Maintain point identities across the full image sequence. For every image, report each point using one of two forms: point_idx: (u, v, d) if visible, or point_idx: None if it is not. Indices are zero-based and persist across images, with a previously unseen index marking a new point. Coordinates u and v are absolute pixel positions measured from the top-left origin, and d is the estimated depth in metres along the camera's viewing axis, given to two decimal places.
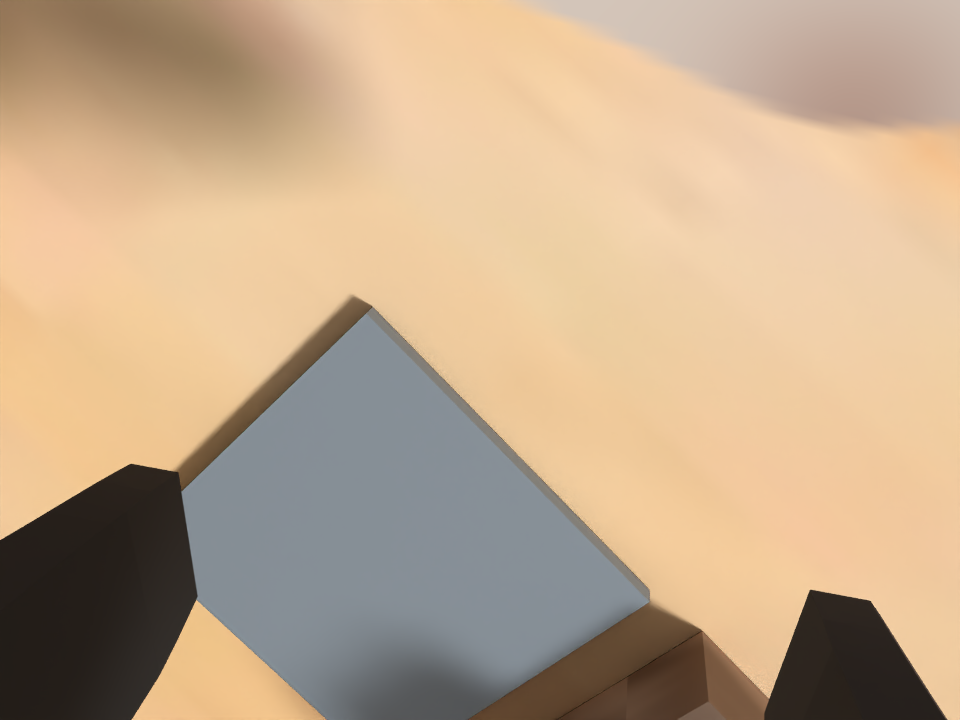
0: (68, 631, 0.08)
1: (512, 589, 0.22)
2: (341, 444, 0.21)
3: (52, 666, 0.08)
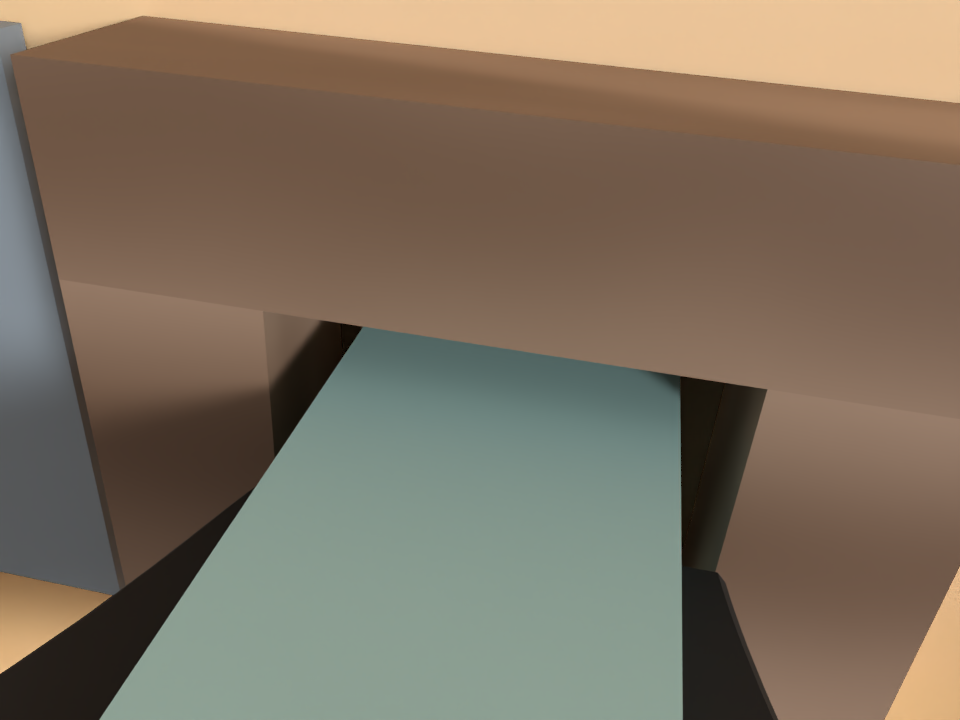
0: None
1: None
2: None
3: None
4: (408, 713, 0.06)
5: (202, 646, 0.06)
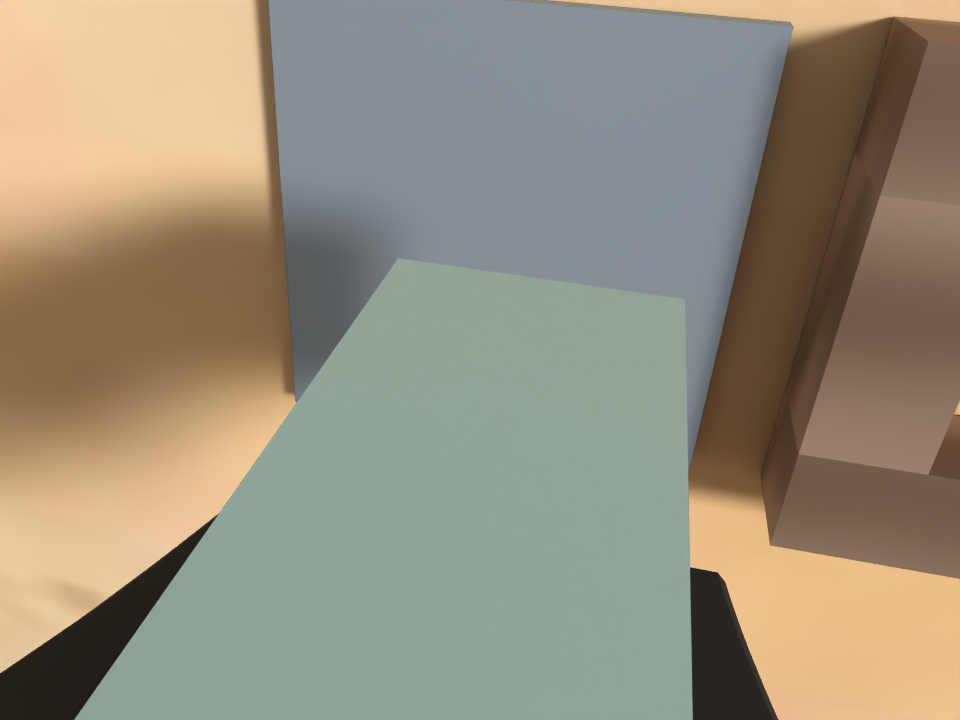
0: None
1: (639, 149, 0.17)
2: (362, 142, 0.18)
3: None
4: (422, 655, 0.06)
5: (216, 592, 0.07)
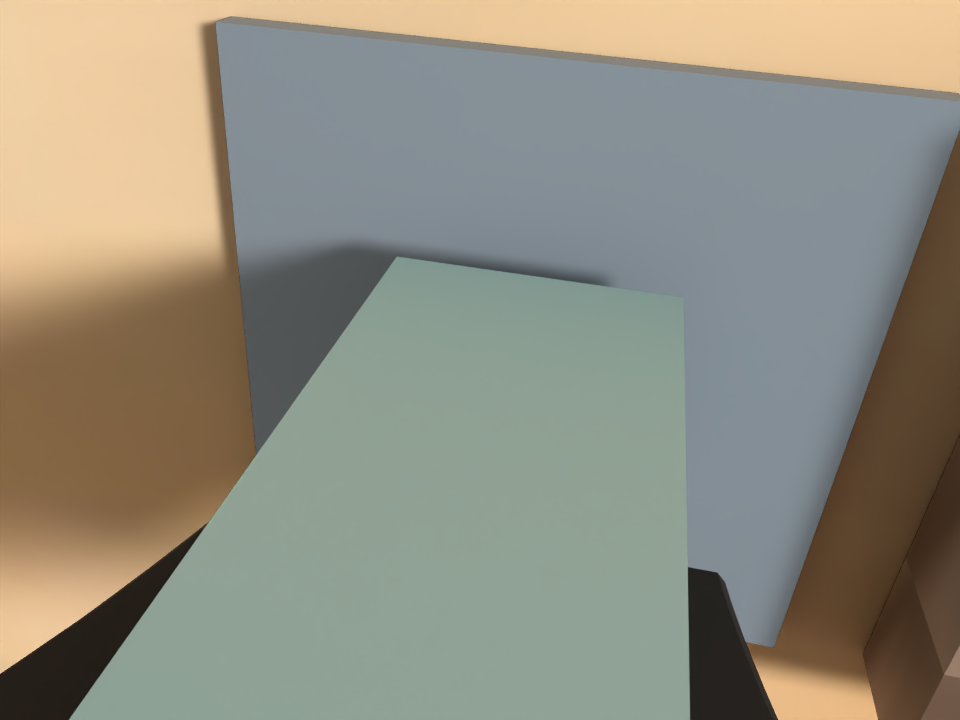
0: None
1: (731, 261, 0.12)
2: (349, 240, 0.13)
3: None
4: (419, 652, 0.06)
5: (214, 588, 0.07)
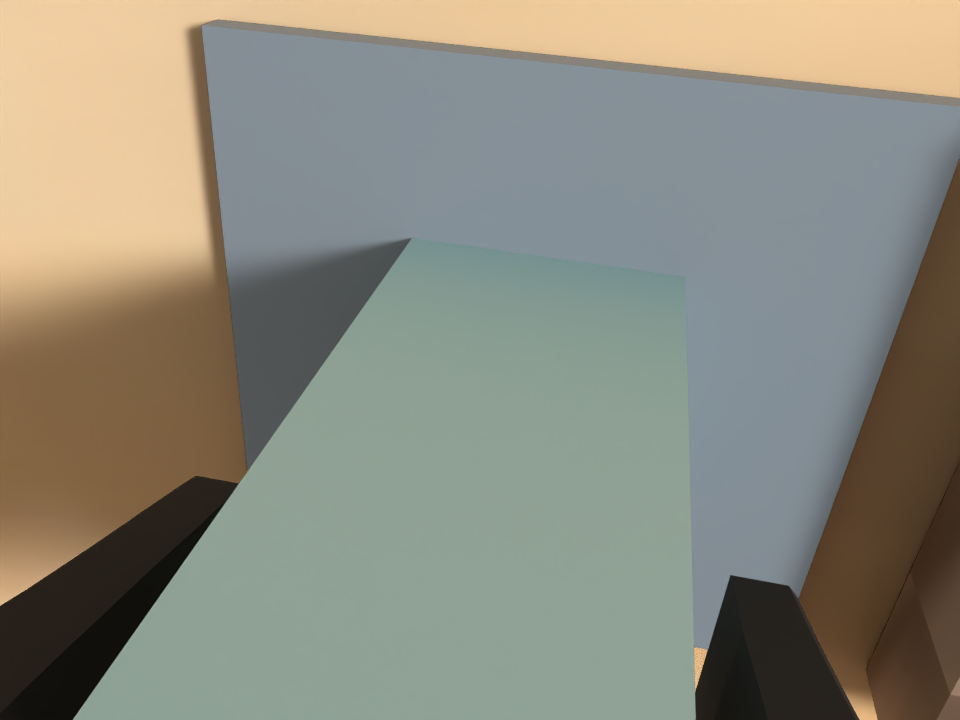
0: None
1: (732, 271, 0.12)
2: (340, 248, 0.13)
3: None
4: (445, 581, 0.07)
5: (256, 527, 0.07)
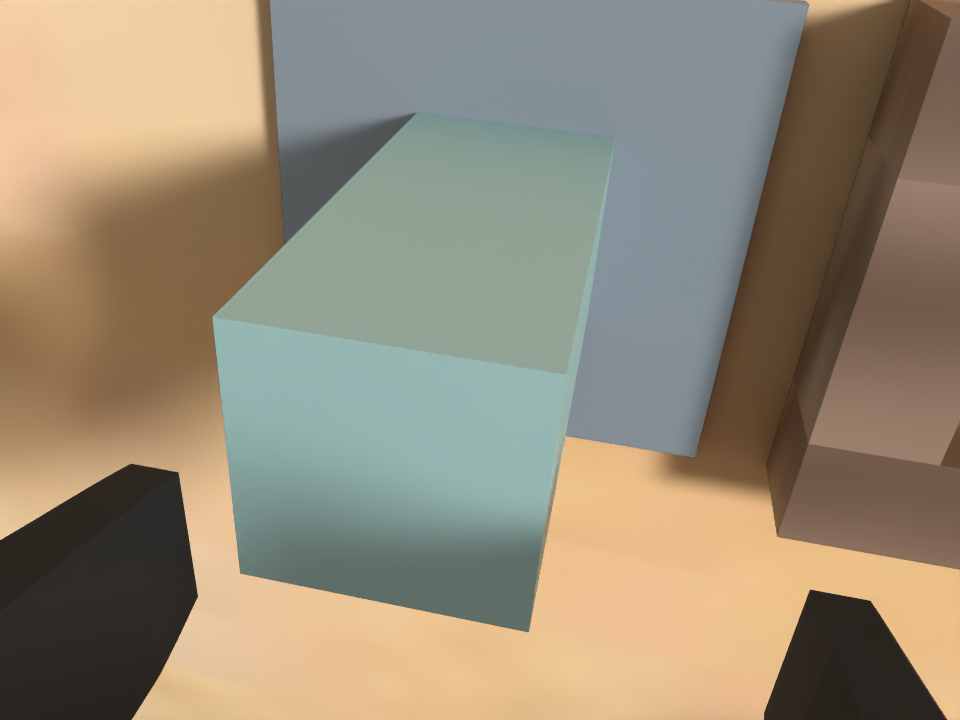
0: (68, 631, 0.08)
1: (648, 131, 0.16)
2: (364, 122, 0.17)
3: (52, 666, 0.08)
4: (441, 255, 0.11)
5: (326, 233, 0.12)
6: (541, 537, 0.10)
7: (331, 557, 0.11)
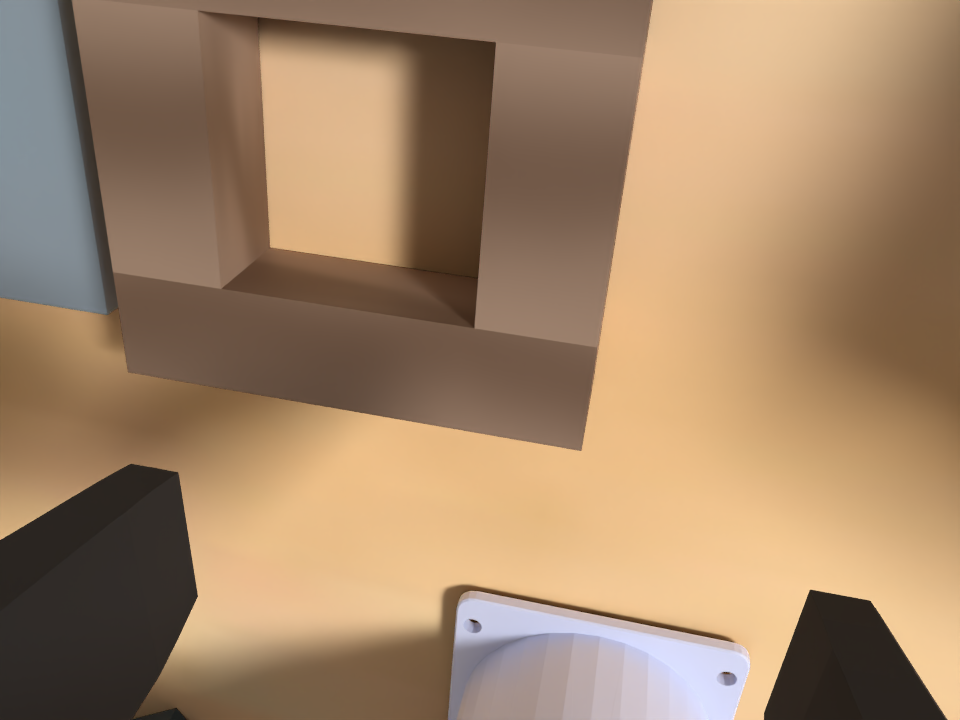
0: (68, 631, 0.08)
1: None
2: None
3: (52, 666, 0.08)
4: None
5: None
6: None
7: None
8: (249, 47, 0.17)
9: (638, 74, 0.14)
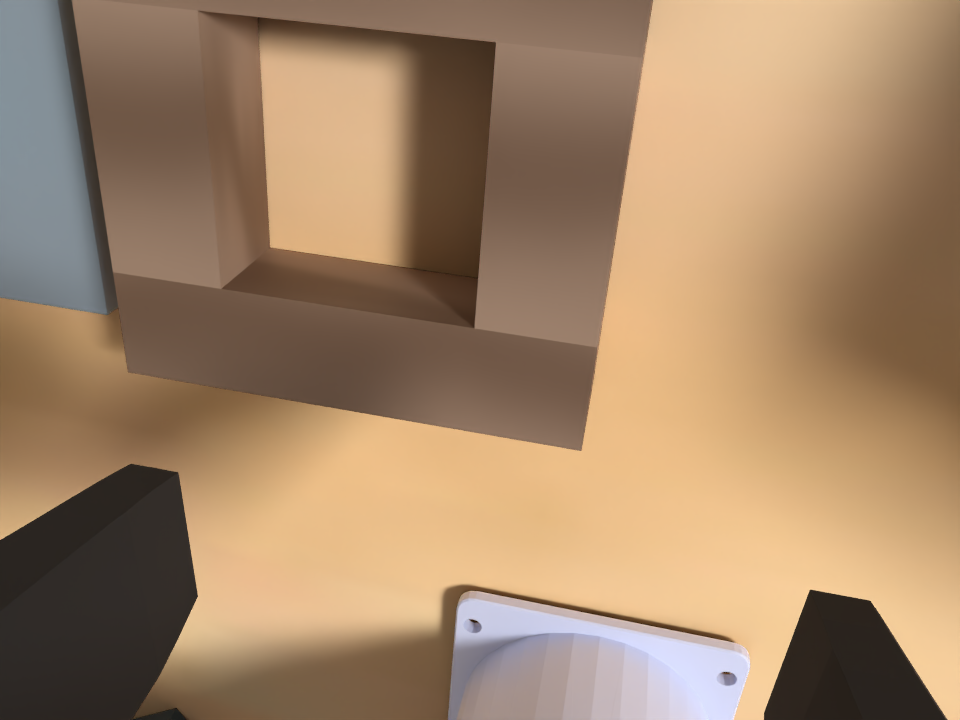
0: (68, 631, 0.08)
1: None
2: None
3: (52, 666, 0.08)
4: None
5: None
6: None
7: None
8: (249, 47, 0.17)
9: (638, 74, 0.14)
